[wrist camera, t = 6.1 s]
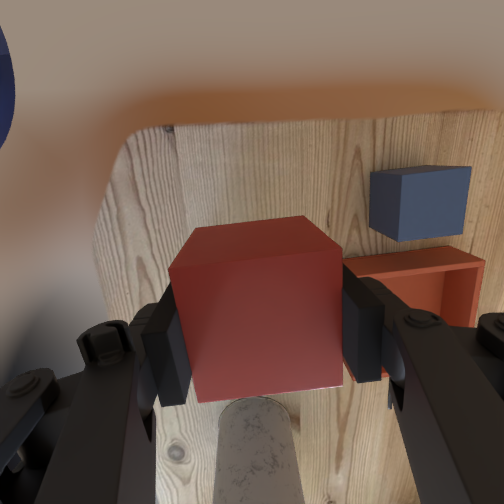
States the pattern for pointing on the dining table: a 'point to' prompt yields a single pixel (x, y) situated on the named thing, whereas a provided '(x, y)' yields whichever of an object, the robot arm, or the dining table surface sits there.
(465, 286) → the red bin
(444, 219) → the blue block
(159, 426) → the dining table surface
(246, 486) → the grey tin can
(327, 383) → the red block
